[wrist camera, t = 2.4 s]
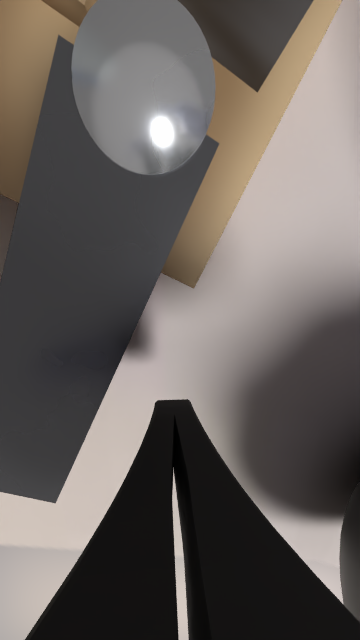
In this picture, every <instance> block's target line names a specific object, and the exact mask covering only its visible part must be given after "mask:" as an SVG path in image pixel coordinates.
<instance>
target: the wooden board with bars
mask: <svg viewBox="0 0 360 640" xmlns="http://www.w3.org/2000/svg"><path fill="white" fill-rule="evenodd" d="M178 1H179V2H180V3H181V4H182V5H183V6H184V7H185V8H186V9H187V10H188V11H189V13H190V14H191V15H192V16H193V18H194V19H195V21H196V22H197V24H198V25H199V27H200V29H201V31H202V33H203V35H204V37H205V39H206V42H207V44H208V47H209V50H210V53H211V57H212V61H213V66H214V73H215V87H216V88H215V103H214V110H213V114H212V118H211V122H210V124H209V127H208V130H207V133H206V135H208V136H209V137H211V138H212V139H214V140H215V141H217V142H218V143H220V144H219V146H218V148H217V150H216V153H215V155H214V157H213V159H212V161H211V163H210V166H209V168H208V170H207V172H206V174H205V177H204V179H203V181H202V183H201V185H200V188H199V190H198V192H197V194H196V196H195V199H194V201H193V203H192V205H191V207H190V210H189V212H188V214H187V216H186V218H185V220H184V223H183V225H182V227H181V229H180V231H179V234H178V236H177V238H176V240H175V242H174V245H173V247H172V249H171V251H170V253H169V256H168V258H167V260H166V262H165V264H164V266H163V269H162V271H161V273H163V274H165V275H167V276H169V277H171V278H173V279H175V280H177V281H179V282H181V283H184V284H186V285H188V286H190V287H192V288H194V287H195V285H196V283H197V281H198V280H199V278H200V276H201V274H202V272H203V270H204V268H205V266H206V264H207V262H208V260H209V258H210V256H211V254H212V252H213V250H214V248H215V247H216V245H217V243H218V241H219V239H220V237H221V235H222V233H223V231H224V229H225V227H226V225H227V223H228V221H229V219H230V217H231V215H232V213H233V212H234V210H235V208H236V206H237V204H238V202H239V200H240V198H241V196H242V194H243V192H244V190H245V188H246V186H247V184H248V182H249V180H250V179H251V177H252V175H253V173H254V171H255V169H256V167H257V165H258V163H259V161H260V159H261V157H262V155H263V153H264V151H265V149H266V147H267V145H268V144H269V142H270V140H271V138H272V136H273V134H274V132H275V130H276V128H277V126H278V124H279V122H280V120H281V118H282V116H283V114H284V112H285V111H286V109H287V107H288V105H289V103H290V101H291V99H292V97H293V95H294V93H295V91H296V89H297V87H298V85H299V83H300V81H301V79H302V77H303V76H304V74H305V72H306V70H307V68H308V66H309V64H310V62H311V60H312V58H313V56H314V54H315V52H316V50H317V48H318V46H319V44H320V43H321V41H322V39H323V37H324V35H325V33H326V31H327V29H328V27H329V25H330V23H331V21H332V19H333V17H334V15H335V13H336V11H337V9H338V8H339V6H340V4H341V2H342V0H178ZM96 2H97V0H0V194H1V195H3V196H5V197H7V198H9V199H11V200H13V201H16V202H18V203H19V201H20V197H21V192H22V188H23V184H24V179H25V175H26V171H27V167H28V162H29V158H30V154H31V149H32V145H33V141H34V137H35V132H36V128H37V124H38V120H39V115H40V111H41V107H42V102H43V98H44V94H45V90H46V85H47V81H48V77H49V72H50V68H51V64H52V60H53V55H54V51H55V47H56V42H57V38H58V34H59V35H60V36H61V37H63V38H64V39H66V40H67V41H69V42H70V43H72V44H73V45H74V43H75V39H76V36H77V33H78V30H79V27H80V25H81V23H82V21H83V19H84V17H85V16H86V14H87V13H88V11H89V10H90V8H91V7H92V6H93V5H94V4H95V3H96Z"/></svg>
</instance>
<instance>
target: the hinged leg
mask: <svg viewBox="0 0 360 640" xmlns="http://www.w3.org/2000/svg"><path fill="white" fill-rule="evenodd" d="M215 88H216V87H215V73H214V66H213V61H212V57H211V53H210V50H209V47H208V44H207V42H206V39H205V37H204V35H203V33H202V31H201V29H200V27H199V25H198V24H197V22H196V21H195V19H194V18H193V16H192V15H191V14H190V13H189V11H188V10H187V9H186V8H185V7H184V6H183V5H182V4H181V3H180V2H179V1H178V0H97V2H96V3H95V4H94V5H93V6H92V7H91V8H90V10H89V11H88V13H87V14H86V16H85V17H84V19H83V21H82V23H81V25H80V27H79V30H78V33H77V36H76V39H75V43H74V45H73V44H72V43H70V42H69V41H67V40H66V39H64V38H63V37H61V36H60V35H59V34H58V38H57V42H56V47H55V51H54V55H53V60H52V64H51V68H50V72H49V77H48V81H47V85H46V90H45V94H44V98H43V102H42V107H41V111H40V115H39V120H38V124H37V128H36V132H35V137H34V141H33V145H32V149H31V154H30V158H29V162H28V167H27V171H26V175H25V179H24V184H23V188H22V192H21V197H20V201H19V205H18V209H17V214H16V218H15V222H14V227H13V231H12V235H11V239H10V244H9V248H8V252H7V257H6V261H5V265H4V269H3V274H2V278H1V282H0V492H4V493H9V494H14V495H18V496H23V497H28V498H33V499H38V500H43V501H47V502H52V503H56V501H57V499H58V497H59V494H60V492H61V490H62V488H63V486H64V483H65V481H66V479H67V477H68V475H69V472H70V470H71V468H72V466H73V464H74V461H75V459H76V457H77V455H78V453H79V451H80V448H81V446H82V444H83V442H84V440H85V437H86V435H87V433H88V431H89V429H90V426H91V424H92V422H93V420H94V418H95V415H96V413H97V411H98V409H99V407H100V405H101V402H102V400H103V398H104V396H105V394H106V391H107V389H108V387H109V385H110V383H111V380H112V378H113V376H114V374H115V372H116V369H117V367H118V365H119V363H120V361H121V358H122V356H123V354H124V352H125V350H126V348H127V345H128V343H129V341H130V339H131V337H132V334H133V332H134V330H135V328H136V326H137V323H138V321H139V319H140V317H141V315H142V312H143V310H144V308H145V306H146V304H147V302H148V299H149V297H150V295H151V293H152V291H153V288H154V286H155V284H156V282H157V280H158V277H159V275H160V273H161V271H162V269H163V266H164V264H165V262H166V260H167V258H168V256H169V253H170V251H171V249H172V247H173V245H174V242H175V240H176V238H177V236H178V234H179V231H180V229H181V227H182V225H183V223H184V220H185V218H186V216H187V214H188V212H189V210H190V207H191V205H192V203H193V201H194V199H195V196H196V194H197V192H198V190H199V188H200V185H201V183H202V181H203V179H204V177H205V174H206V172H207V170H208V168H209V166H210V163H211V161H212V159H213V157H214V155H215V153H216V150H217V148H218V146H219V144H220V143H218V142H217V141H215V140H214V139H212V138H211V137H209V136H208V135H206V133H207V130H208V127H209V124H210V122H211V118H212V114H213V110H214V103H215Z"/></svg>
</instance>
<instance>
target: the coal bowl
mask: <svg viewBox="0 0 360 640" xmlns="http://www.w3.org/2000/svg"><path fill="white" fill-rule="evenodd" d="M340 578H341V587H342V594H343V602H344V606H345V607H346V608H347V609H348V610H349V611H350V612H351V613H352V614H353V615H354V616H355V617H356V618H357V620H358V621H359V622H360V481H359V483H358V484H357V486H356V488H355V490H354V491H353V493H352V495H351V497H350V500H349V503H348V506H347V509H346V512H345V515H344V519H343V525H342V530H341V538H340Z"/></svg>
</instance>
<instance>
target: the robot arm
mask: <svg viewBox="0 0 360 640" xmlns="http://www.w3.org/2000/svg"><path fill="white" fill-rule="evenodd" d="M173 467H174V476H175V484H176V492H177V500H178V509H179V517H180V525H181V533H182V541H183V552H184V563H185V581H186V598H187V616H188V634H189V640H360V622H359V621H358V620H357V618H356V617H355V616H354V615H353V614H352V613H351V612H350V611H349V610H348V609H347V608H346V607H345V606H344V605H343V604H342V603H341V602H340V600H339V599H338V598H337V597H336V596H335V595H334V594H333V593H332V592H331V591H330V590H329V589H328V588H327V587H326V586H325V585H324V584H323V582H322V581H321V580H320V579H319V578H318V577H317V576H316V575H315V574H314V573H313V572H312V570H311V569H310V568H309V567H308V566H307V565H306V563H305V562H304V561H303V560H302V559H301V558H300V557H299V556H298V554H297V553H296V552H295V551H294V550H293V549H292V548H291V546H290V545H289V544H288V543H287V542H286V541H285V540H284V539H283V537H282V536H281V535H280V534H279V533H278V532H277V531H276V529H275V528H274V527H273V526H272V525H271V523H270V522H269V521H268V520H267V518H266V517H265V516H264V515H263V513H262V512H261V511H260V510H259V509H258V507H257V506H256V505H255V504H254V502H253V501H252V500H251V498H250V497H249V496H248V494H247V493H246V492H245V491H244V489H243V488H242V487H241V485H240V484H239V482H238V481H237V480H236V478H235V477H234V476H233V474H232V473H231V471H230V470H229V468H228V467H227V465H226V464H225V462H224V461H223V459H222V458H221V456H220V455H219V453H218V452H217V450H216V449H215V447H214V445H213V444H212V442H211V440H210V439H209V437H208V435H207V434H206V432H205V430H204V429H203V427H202V425H201V423H200V421H199V419H198V417H197V415H196V413H195V411H194V409H193V407H192V404H191V402H190V401H189V400H188V399H186V400H158V401H157V402H156V403H155V407H154V411H153V415H152V418H151V421H150V424H149V427H148V429H147V432H146V434H145V437H144V439H143V442H142V444H141V446H140V449H139V451H138V453H137V455H136V457H135V459H134V461H133V464H132V466H131V468H130V470H129V472H128V474H127V476H126V478H125V480H124V482H123V484H122V486H121V487H120V489H119V491H118V493H117V495H116V497H115V499H114V500H113V502H112V504H111V506H110V507H109V509H108V511H107V513H106V514H105V516H104V518H103V520H102V521H101V523H100V525H99V526H98V528H97V530H96V531H95V533H94V535H93V536H92V538H91V540H90V541H89V543H88V544H87V546H86V548H85V549H84V551H83V553H82V554H81V556H80V557H79V559H78V561H77V562H76V564H75V565H74V567H73V568H72V570H71V572H70V573H69V575H68V576H67V577H66V579H65V581H64V582H63V584H62V585H61V586H60V588H59V589H58V591H57V592H56V594H55V596H54V597H53V598H52V600H51V602H50V603H49V604H48V606H47V607H46V609H45V611H44V612H43V613H42V615H41V616H40V618H39V619H38V621H37V623H36V624H35V625H34V627H33V628H32V630H31V632H30V633H29V635H28V636H27V637H26V639H25V640H178V619H177V598H176V577H175V555H174V533H173V510H172V489H173Z"/></svg>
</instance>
